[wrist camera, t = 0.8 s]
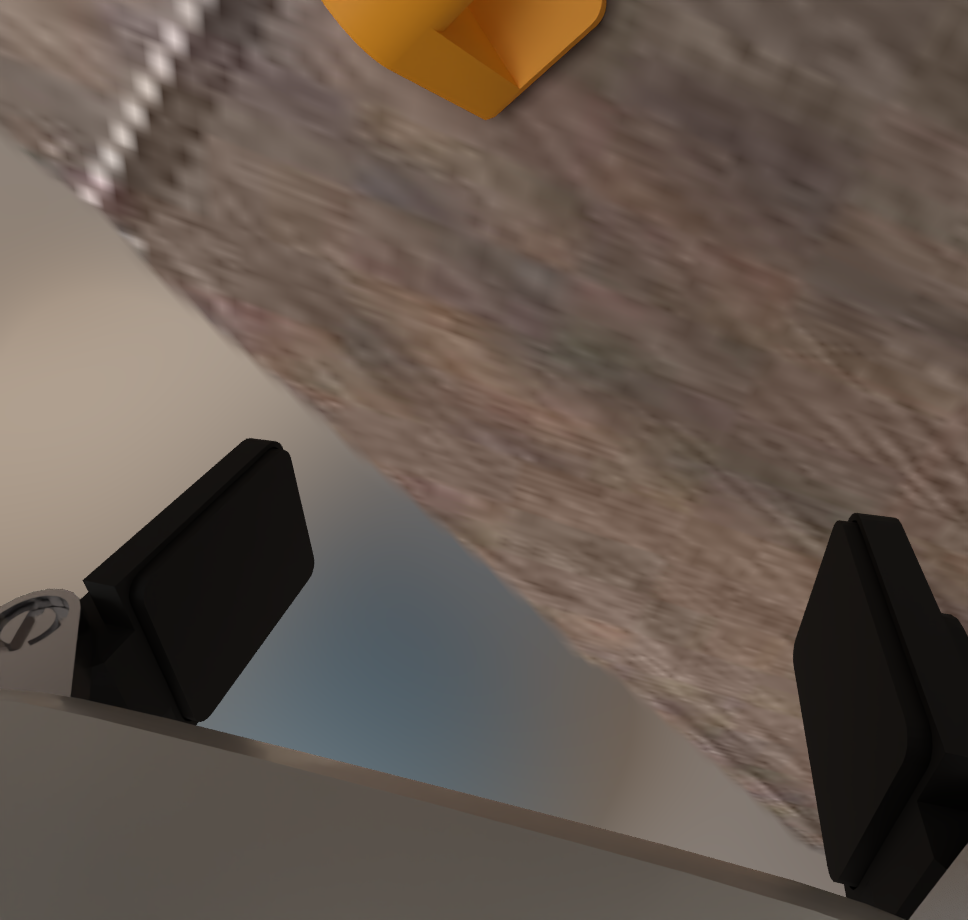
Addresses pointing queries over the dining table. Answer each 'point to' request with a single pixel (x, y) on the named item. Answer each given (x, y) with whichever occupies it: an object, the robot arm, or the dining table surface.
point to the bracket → (468, 42)
